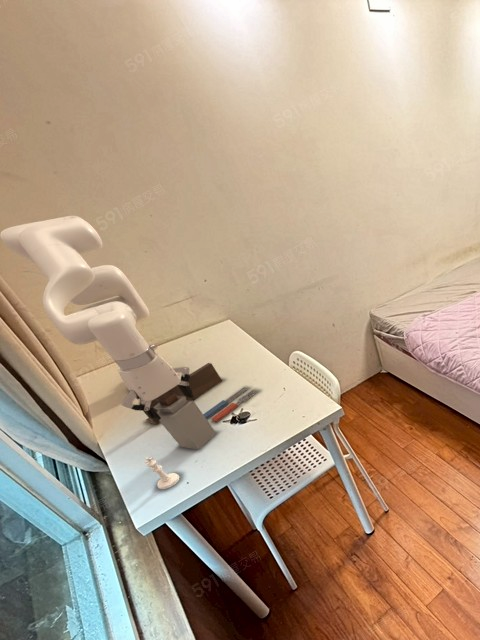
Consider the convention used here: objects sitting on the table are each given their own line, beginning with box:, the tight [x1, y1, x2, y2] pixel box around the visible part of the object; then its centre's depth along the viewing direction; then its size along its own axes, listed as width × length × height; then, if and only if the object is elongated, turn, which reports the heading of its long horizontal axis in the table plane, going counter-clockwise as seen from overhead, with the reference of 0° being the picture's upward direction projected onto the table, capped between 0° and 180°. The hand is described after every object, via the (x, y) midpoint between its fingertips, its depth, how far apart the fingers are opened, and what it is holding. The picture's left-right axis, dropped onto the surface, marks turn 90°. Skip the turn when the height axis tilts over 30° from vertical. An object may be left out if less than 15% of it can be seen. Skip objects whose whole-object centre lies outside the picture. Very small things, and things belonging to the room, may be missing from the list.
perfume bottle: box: [154, 392, 217, 450], centre depth 113 cm, size 7×7×18 cm
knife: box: [202, 387, 249, 420], centre depth 131 cm, size 2×17×1 cm, turn 159°
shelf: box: [142, 362, 223, 426], centre depth 131 cm, size 5×24×8 cm, turn 159°
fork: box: [210, 389, 259, 423], centre depth 130 cm, size 3×16×1 cm, turn 159°
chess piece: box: [144, 456, 180, 490], centre depth 103 cm, size 5×5×10 cm
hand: (173, 407), depth 110 cm, fingers open, 9 cm apart
